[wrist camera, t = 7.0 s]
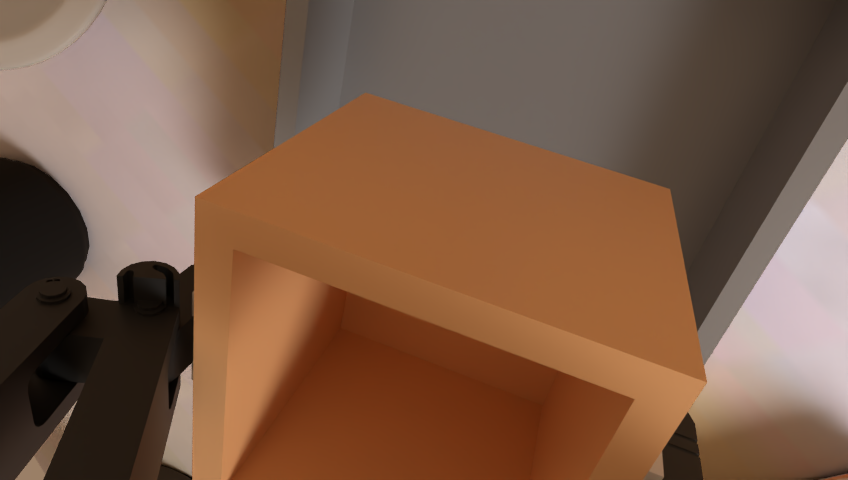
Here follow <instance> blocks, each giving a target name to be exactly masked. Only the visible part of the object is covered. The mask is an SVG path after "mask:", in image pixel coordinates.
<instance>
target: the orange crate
mask: <svg viewBox="0 0 848 480" xmlns="http://www.w3.org/2000/svg"><path fill="white" fill-rule="evenodd" d="M706 383H707V380H706V375H705V369H704V364H703V359H702V354H701V348H700V343H699V338H698V333H697V327H696V322H695V317H694V312H693V306H692V301H691V296H690V291H689V285H688V280H687V275H686V270H685V265H684V259H683V254H682V249H681V244H680V238H679V233H678V228H677V223H676V217H675V212H674V207H673V202H672V196H671V191H670V189H668V188H665V187H662V186H659V185H656V184H653V183H649V182H646V181H643V180H640V179H637V178H634V177H630V176H627V175H624V174H621V173H618V172H615V171H612V170H608V169H605V168H602V167H599V166H596V165H593V164H589V163H586V162H583V161H580V160H577V159H574V158H570V157H567V156H564V155H561V154H558V153H555V152H552V151H548V150H545V149H542V148H539V147H536V146H533V145H529V144H526V143H523V142H520V141H517V140H514V139H510V138H507V137H504V136H501V135H498V134H495V133H492V132H488V131H485V130H482V129H479V128H476V127H473V126H469V125H466V124H463V123H460V122H457V121H454V120H450V119H447V118H444V117H441V116H438V115H435V114H432V113H428V112H425V111H422V110H419V109H416V108H413V107H409V106H406V105H403V104H400V103H397V102H394V101H391V100H387V99H384V98H381V97H378V96H375V95H372V94H368V93H364V94H362V95H361V96H359V97H357V98H356V99H354V100H353V101H351V102H349V103H348V104H346V105H344V106H343V107H341V108H339V109H338V110H336V111H335V112H333V113H331V114H330V115H328V116H326V117H325V118H323V119H321V120H320V121H318V122H316V123H315V124H313V125H312V126H310V127H308V128H307V129H305V130H303V131H302V132H300V133H298V134H297V135H295V136H294V137H292V138H290V139H289V140H287V141H285V142H284V143H282V144H280V145H279V146H277V147H276V148H274V149H272V150H271V151H269V152H267V153H266V154H264V155H262V156H261V157H259V158H257V159H256V160H254V161H253V162H251V163H249V164H248V165H246V166H244V167H243V168H241V169H239V170H238V171H236V172H235V173H233V174H231V175H230V176H228V177H226V178H225V179H223V180H221V181H220V182H218V183H217V184H215V185H213V186H212V187H210V188H208V189H207V190H205V191H203V192H202V193H200V194H198V195H197V196H195V247H194V348H193V450H192V480H643V479H644V478H645V476H646V475H647V473H648V471H649V470H650V468H651V467H652V465H653V464H654V462H655V461H656V459H657V458H658V456H659V455H660V453H661V452H662V450H663V449H664V447H665V446H666V444H667V443H668V441H669V440H670V438H671V437H672V435H673V433H674V432H675V430H676V429H677V427H678V426H679V424H680V423H681V421H682V420H683V418H684V417H685V415H686V414H687V412H688V411H689V409H690V408H691V406H692V405H693V403H694V402H695V400H696V398H697V397H698V395H699V394H700V392H701V391H702V389H703V388H704V386H705V385H706Z"/></svg>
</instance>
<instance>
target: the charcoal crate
mask: <svg viewBox="0 0 848 480" xmlns="http://www.w3.org/2000/svg"><path fill="white" fill-rule="evenodd" d="M364 93H368V94H372V95H375V96H378V97H381V98H384V99H387V100H391V101H394V102H397V103H400V104H403V105H406V106H409V107H413V108H416V109H419V110H422V111H425V112H428V113H432V114H435V115H438V116H441V117H444V118H447V119H450V120H454V121H457V122H460V123H463V124H466V125H469V126H473V127H476V128H479V129H482V130H485V131H488V132H492V133H495V134H498V135H501V136H504V137H507V138H510V139H514V140H517V141H520V142H523V143H526V144H529V145H533V146H536V147H539V148H542V149H545V150H548V151H552V152H555V153H558V154H561V155H564V156H567V157H570V158H574V159H577V160H580V161H583V162H586V163H589V164H593V165H596V166H599V167H602V168H605V169H608V170H612V171H615V172H618V173H621V174H624V175H627V176H630V177H634V178H637V179H640V180H643V181H646V182H649V183H653V184H656V185H659V186H662V187H665V188H668V189H670V191H671V196H672V202H673V207H674V212H675V217H676V223H677V228H678V233H679V238H680V244H681V249H682V254H683V259H684V265H685V270H686V275H687V280H688V285H689V291H690V296H691V301H692V306H693V312H694V317H695V322H696V327H697V333H698V338H699V343H700V348H701V354H702V359H703V364H704V365H705V363H706V362H707V360H708V358H709V357H710V355H711V354H712V352H713V350H714V349H715V347H716V346H717V344H718V343H719V341H720V339H721V338H722V336H723V335H724V333H725V332H726V330H727V328H728V327H729V325H730V324H731V322H732V321H733V319H734V317H735V316H736V314H737V313H738V311H739V309H740V308H741V306H742V305H743V303H744V302H745V300H746V298H747V297H748V295H749V294H750V292H751V291H752V289H753V287H754V286H755V284H756V283H757V281H758V279H759V278H760V276H761V275H762V273H763V272H764V270H765V268H766V267H767V265H768V264H769V262H770V261H771V259H772V257H773V256H774V254H775V253H776V251H777V249H778V248H779V246H780V245H781V243H782V242H783V240H784V238H785V237H786V235H787V234H788V232H789V231H790V229H791V227H792V226H793V224H794V223H795V221H796V219H797V218H798V216H799V215H800V213H801V212H802V210H803V208H804V207H805V205H806V204H807V202H808V201H809V199H810V197H811V196H812V194H813V193H814V191H815V189H816V188H817V186H818V185H819V183H820V182H821V180H822V178H823V177H824V175H825V174H826V172H827V171H828V169H829V167H830V166H831V164H832V163H833V161H834V159H835V158H836V156H837V155H838V153H839V152H840V150H841V148H842V147H843V145H844V144H845V142H846V141H847V139H848V0H286V11H285V23H284V34H283V46H282V57H281V69H280V80H279V92H278V103H277V115H276V126H275V137H274V148H276V147H277V146H279V145H280V144H282V143H284V142H285V141H287V140H289V139H290V138H292V137H294V136H295V135H297V134H298V133H300V132H302V131H303V130H305V129H307V128H308V127H310V126H312V125H313V124H315V123H316V122H318V121H320V120H321V119H323V118H325V117H326V116H328V115H330V114H331V113H333V112H335V111H336V110H338V109H339V108H341V107H343V106H344V105H346V104H348V103H349V102H351V101H353V100H354V99H356V98H357V97H359V96H361V95H362V94H364Z"/></svg>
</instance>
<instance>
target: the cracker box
mask: <svg viewBox="0 0 848 480" xmlns="http://www.w3.org/2000/svg"><path fill="white" fill-rule="evenodd" d="M820 480H848V473H847V474H842V475H838V476H833V477H829V478H825V479H820Z"/></svg>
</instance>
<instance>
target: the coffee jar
mask: <svg viewBox="0 0 848 480" xmlns="http://www.w3.org/2000/svg"><path fill="white" fill-rule="evenodd" d="M88 250H89V239H88V232H87V228H86V225H85V223H84V220H83V218H82V215H81V213H80V211H79V209H78V208H77V206H76V205H75V203H74V202H73V200H72V199H71V197H70V196H69V195H68V193H67V192H66V191H65V190H64V189H63V188H62V187H61V186H60V185H59V184H58V183H57V182H56V181H55V180H54V179H53V178H52V177H50V176H49V175H47V174H45V173H44V172H42V171H41V170H39V169H38V168H36V167H35V166H32V165H28V164H25V163H22V162H19V161H13V160H10V159H7V158H0V309H1V308H2V307H3V306H5V305H6V304H7V303H8V302H9V301H10V300H11V299H13V298H14V297H15V296H16V295H17V294H18V293H19V292H21V291H22V290H23V289H24V288H25V287H27V286H29V285H30V284H32V283H33V282H36V281H39V280H42V279H45V278H51V277H70V278H73V279H76V278H77V277H78V276H79V274H80V273H81V272H82V270H83V268H84V263H85V261H86V259H87V254H88Z"/></svg>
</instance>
